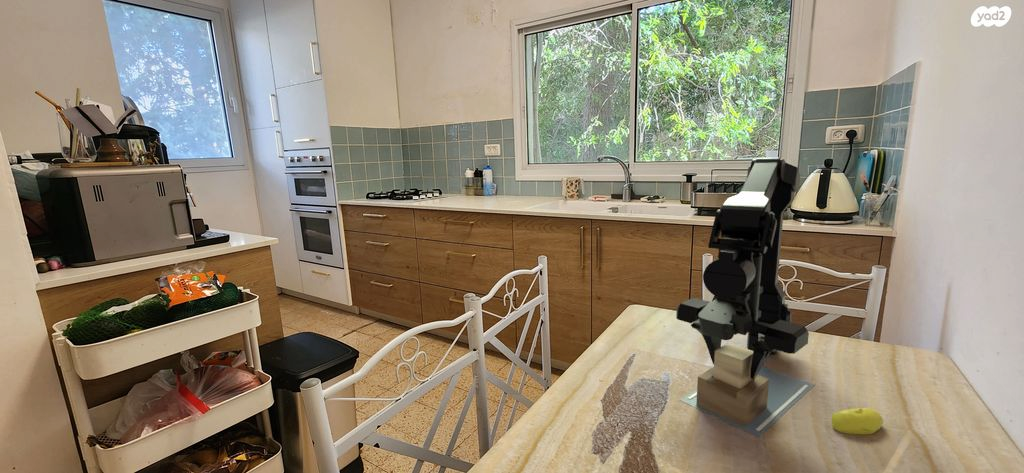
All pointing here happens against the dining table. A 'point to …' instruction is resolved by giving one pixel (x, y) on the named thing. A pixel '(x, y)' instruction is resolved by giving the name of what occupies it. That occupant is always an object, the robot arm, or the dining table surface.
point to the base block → (732, 397)
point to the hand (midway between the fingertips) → (733, 370)
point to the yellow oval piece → (857, 421)
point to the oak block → (733, 365)
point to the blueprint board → (780, 399)
